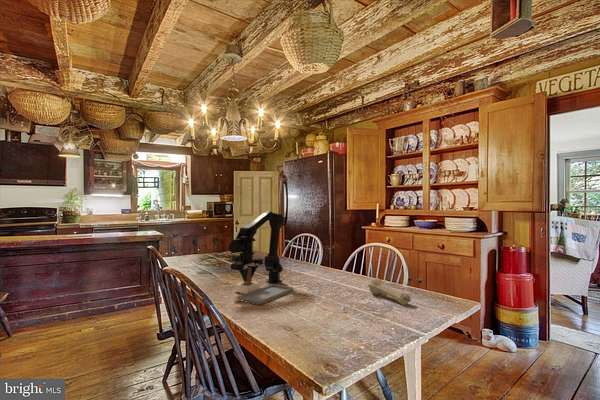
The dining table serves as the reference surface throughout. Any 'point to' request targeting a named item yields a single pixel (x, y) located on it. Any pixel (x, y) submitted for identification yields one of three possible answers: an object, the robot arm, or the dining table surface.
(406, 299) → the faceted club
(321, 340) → the dining table surface
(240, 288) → the square frame
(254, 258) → the robot arm
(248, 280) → the pin
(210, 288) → the dining table surface
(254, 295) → the tray
